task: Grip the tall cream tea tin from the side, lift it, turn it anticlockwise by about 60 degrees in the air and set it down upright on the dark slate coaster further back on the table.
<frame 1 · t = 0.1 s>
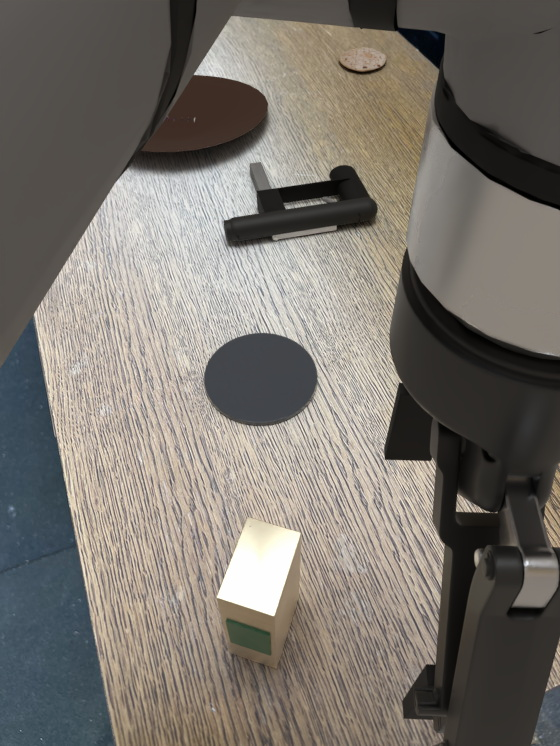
hand: (418, 567, 34), 22 cm above the table, tool pointing down, fingers open, 13 cm apart
flatbread: (362, 63, 111), on the table
tea tin: (265, 624, 53), on the table
door handle: (291, 205, 87), on the table
plate: (178, 121, 100), on the table
coaster: (260, 378, 69), on the table
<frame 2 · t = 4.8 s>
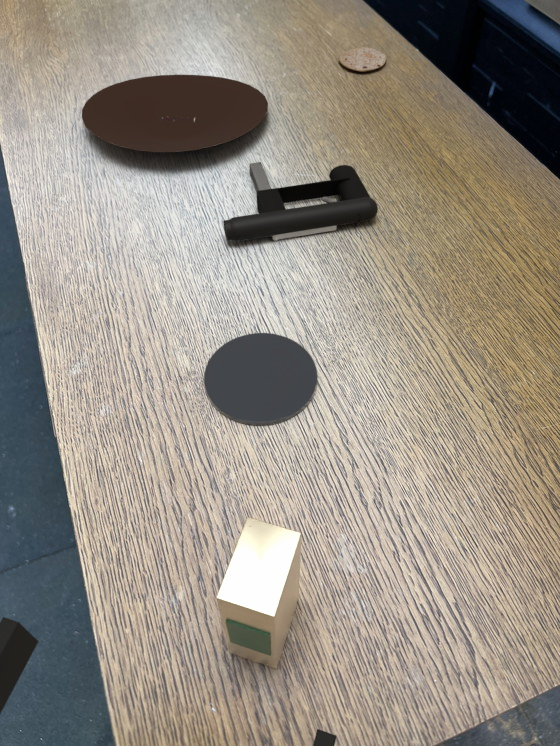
hand: (166, 679, 27), 26 cm above the table, tool horizontal, fingers open, 13 cm apart
nothing on the table moved.
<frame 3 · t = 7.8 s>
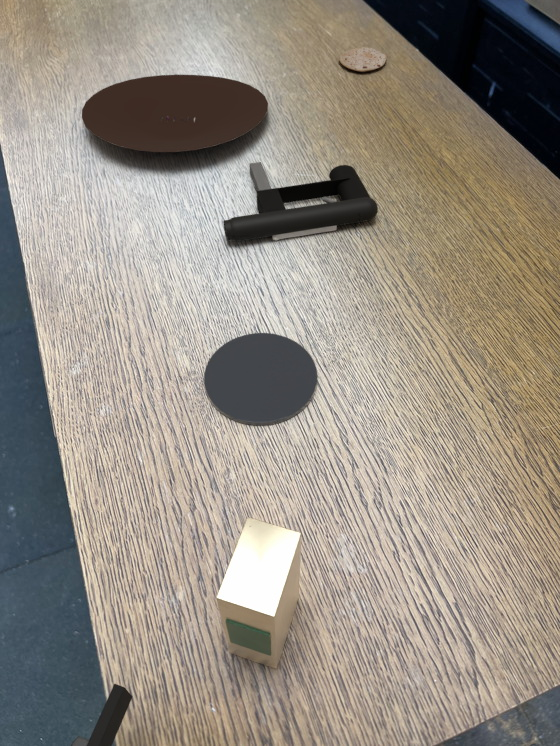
hand: (218, 724, 42), 8 cm above the table, tool horizontal, fingers open, 13 cm apart
nothing on the table moved.
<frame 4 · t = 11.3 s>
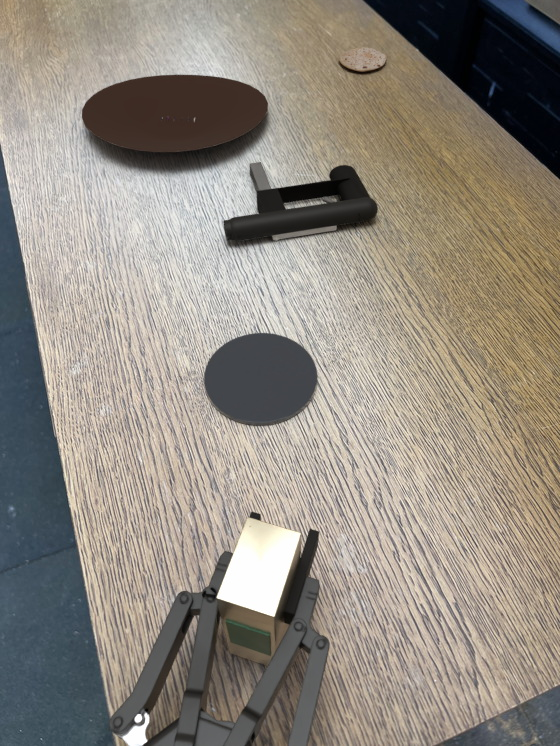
hand: (284, 529, 51), 7 cm above the table, tool horizontal, fingers closed on tea tin, 4 cm apart
tea tin: (265, 624, 53), on the table, touching gripper
everything else where it was.
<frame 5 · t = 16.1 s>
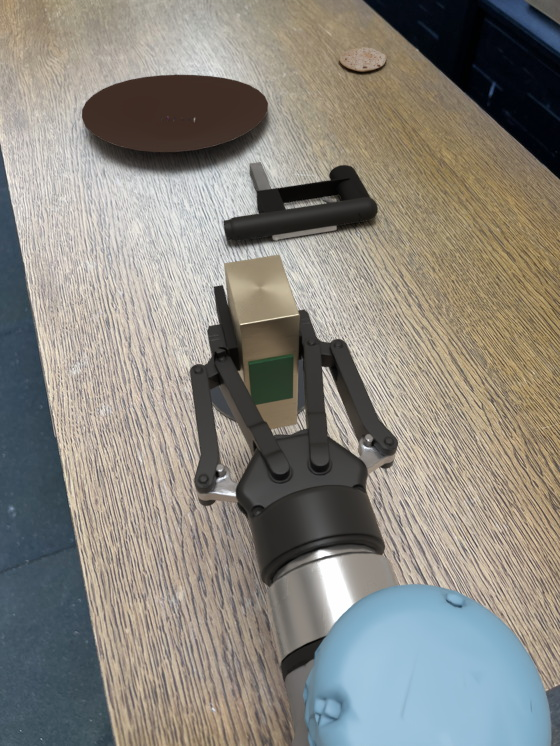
hand: (249, 293, 52), 18 cm above the table, tool horizontal, fingers closed on tea tin, 4 cm apart
tea tin: (265, 399, 54), point 11 cm above the table, touching gripper
everything else where it was.
when the fingers open (8 cm above the table, at t = 20.9 s): tea tin stays where it is, resting on coaster.
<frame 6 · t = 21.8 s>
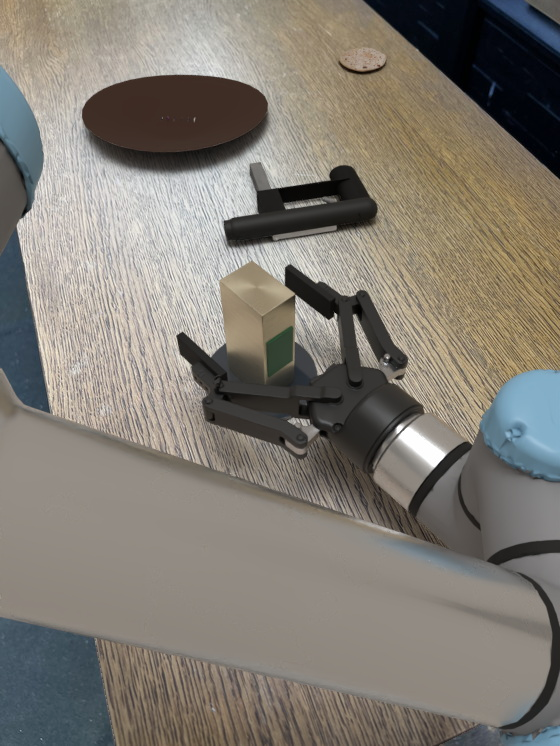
hand: (236, 307, 64), 8 cm above the table, tool horizontal, fingers open, 13 cm apart
tea tin: (261, 375, 69), point 1 cm above the table, touching coaster
everything else where it was.
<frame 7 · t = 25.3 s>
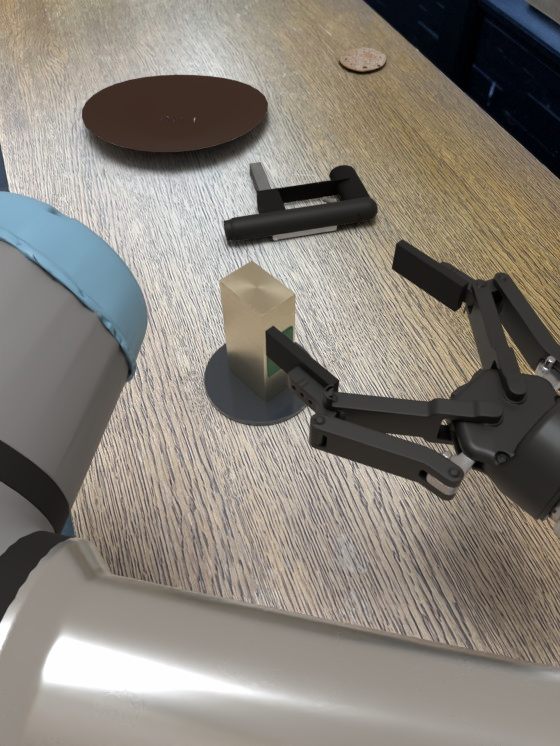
hand: (336, 294, 49), 20 cm above the table, tool horizontal, fingers open, 13 cm apart
nothing on the table moved.
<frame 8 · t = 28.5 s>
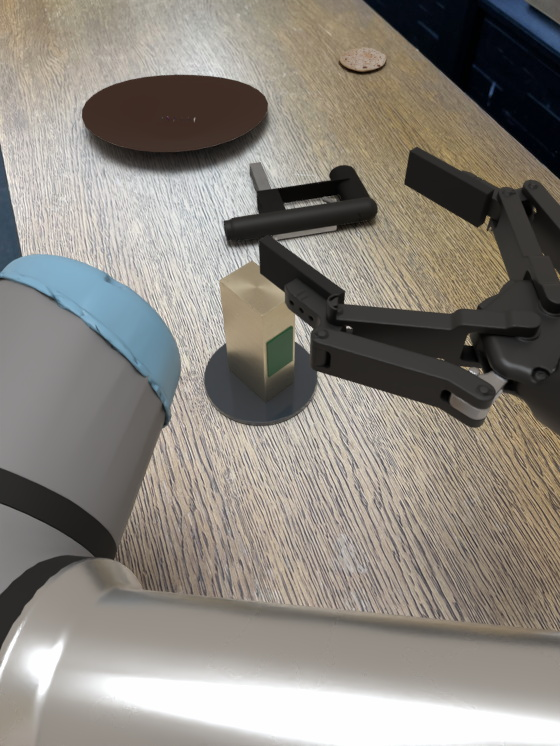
hand: (341, 206, 43), 28 cm above the table, tool horizontal, fingers open, 13 cm apart
nothing on the table moved.
at the end: tea tin 0.1 cm off-centre on the coaster, point 0.6 cm above the coaster's base; tea tin tilted 0°; the gripper is holding nothing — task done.
